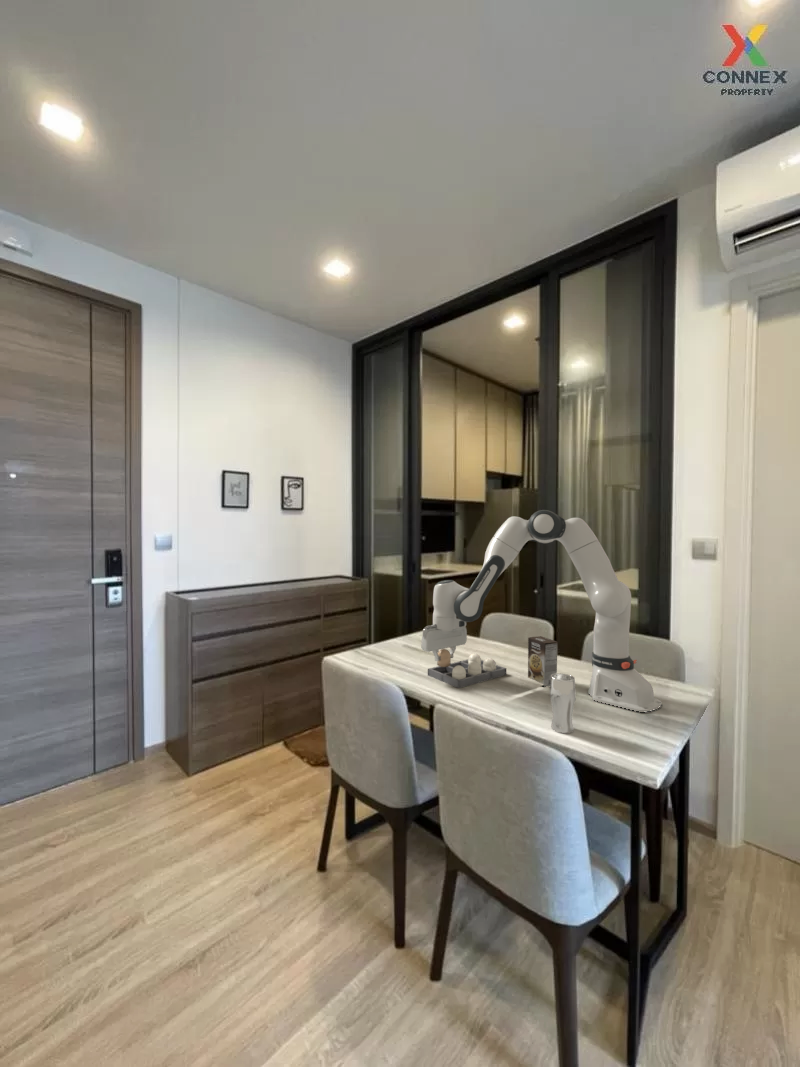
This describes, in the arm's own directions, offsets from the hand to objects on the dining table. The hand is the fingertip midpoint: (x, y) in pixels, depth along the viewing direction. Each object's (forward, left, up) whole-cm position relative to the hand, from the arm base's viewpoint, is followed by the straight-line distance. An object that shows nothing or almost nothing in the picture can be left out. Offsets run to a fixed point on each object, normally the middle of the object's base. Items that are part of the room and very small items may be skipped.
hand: (444, 659), depth 175 cm
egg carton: (-4, -8, -7) cm, 12 cm away
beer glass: (-52, +1, -8) cm, 53 cm away
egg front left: (-8, 0, -6) cm, 10 cm away
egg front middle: (-8, -8, -6) cm, 13 cm away
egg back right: (0, -16, -6) cm, 17 cm away
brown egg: (0, 0, -2) cm, 2 cm away
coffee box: (-24, -27, -8) cm, 37 cm away
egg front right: (-8, -16, -6) cm, 19 cm away
